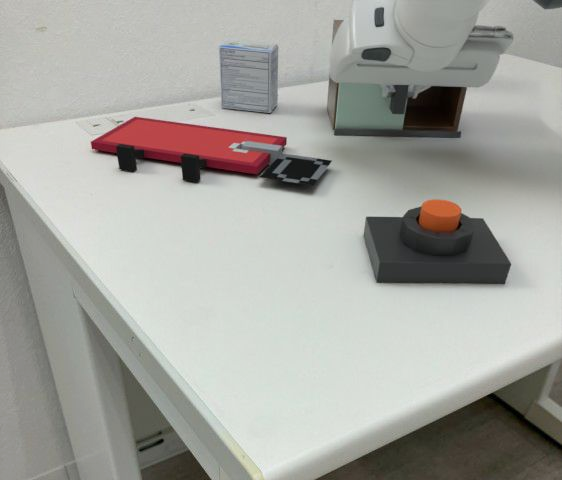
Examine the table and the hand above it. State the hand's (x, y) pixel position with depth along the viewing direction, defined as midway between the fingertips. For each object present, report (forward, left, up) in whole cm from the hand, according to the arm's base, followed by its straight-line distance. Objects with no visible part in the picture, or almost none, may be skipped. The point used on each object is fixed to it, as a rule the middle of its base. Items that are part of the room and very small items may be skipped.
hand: (398, 92), depth 80 cm
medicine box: (+23, +4, -6) cm, 24 cm away
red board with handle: (+13, +23, -6) cm, 27 cm away
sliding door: (+2, +2, -5) cm, 6 cm away
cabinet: (+4, -6, -6) cm, 9 cm away
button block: (-20, +27, -6) cm, 34 cm away
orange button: (-20, +27, -2) cm, 34 cm away
